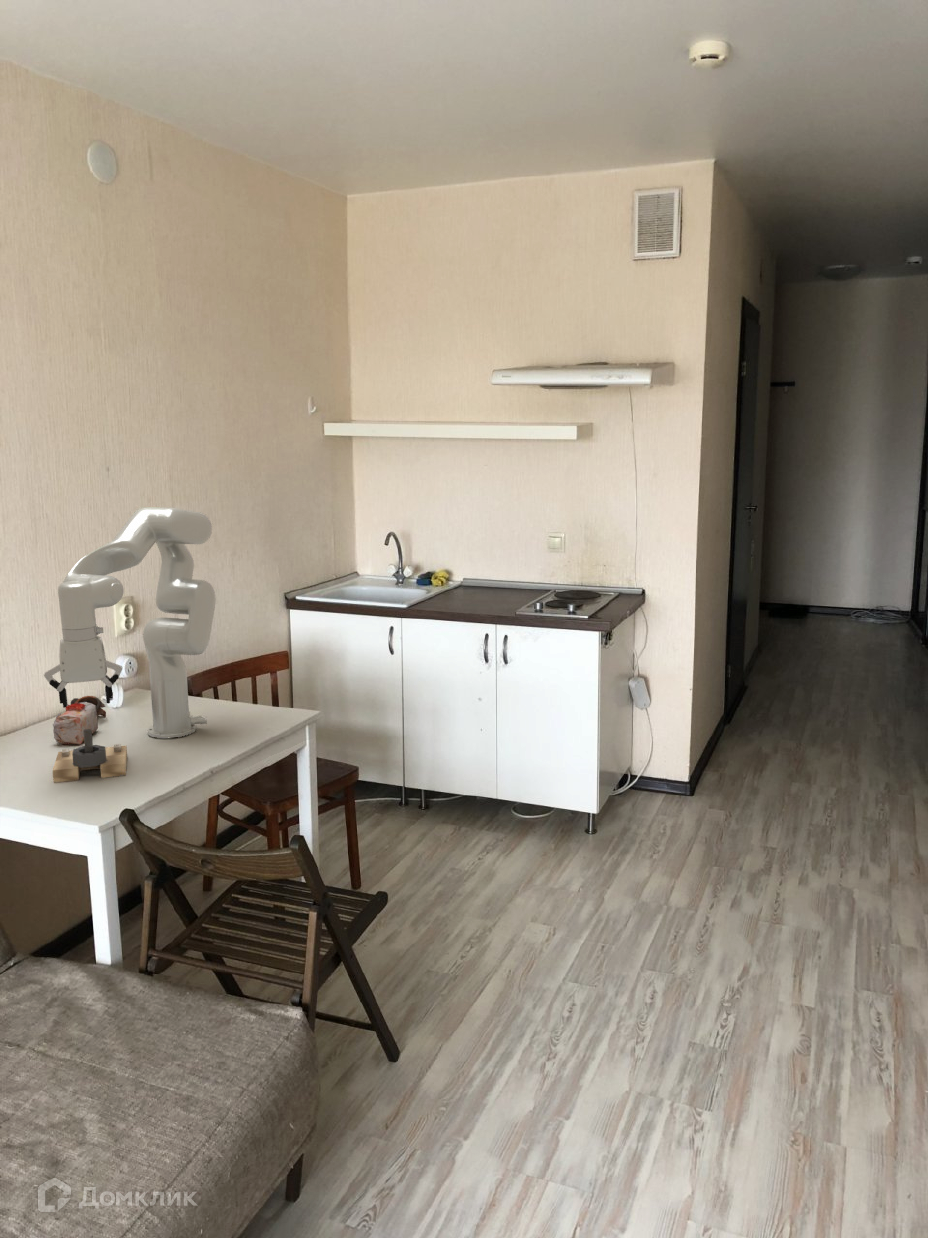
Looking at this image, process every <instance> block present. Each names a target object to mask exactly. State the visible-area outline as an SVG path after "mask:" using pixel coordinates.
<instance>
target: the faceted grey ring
mask: <svg viewBox="0 0 928 1238" xmlns="http://www.w3.org/2000/svg"><path fill="white" fill-rule="evenodd" d="M105 747H106V746H104V745H100V744H99V745H98V744H93V753H85V745H81V746H80V747H77V748H74V749H73V753H72V755H73V766H78V767H93V766H98V765H100V764H103V763H105V762H106V749H105Z"/></svg>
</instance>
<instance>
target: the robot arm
mask: <svg viewBox="0 0 928 1238" xmlns="http://www.w3.org/2000/svg"><path fill="white" fill-rule="evenodd" d="M212 524H213V523H211V520H210V518H209V517H208V516H207V515H206V514H205V513H203V512H199V511H195V510H187V509H183V508H178V507H162V506H161V507H158V506H156V507H154V506H153V507H150V506H149V507H145V506H144V507H141V508H139V509H137V510H136V511H134V513H133V514H131V516H130V518H129V519H128V520H127V521H126V523H125V524H124V525H123V527H121V529H120V530H119V532H118V533H117V534H116V536H115V537H114V538H113V539H112V541H110V542H108V543H105V544H104V545H102V546H100V547H99V548H97V549H94V550H93V551H91V552H89V553H87V554H86V555H84V556H83V557H81V558H80V559H79V560H77V562H76V563H75V564H74V565H73V566H72V567H71V569H70V570H69V571H68V573H67V574H66V575H65V577H64V578H63V579H64V580H63V581H62V583H60V584H59V585H58V588H57V595H58V603H59V604H58V605H59V614H60V623H61V631H62V632H61V633H62V639H61V640H60V642H59V664H58V665H56V666H54V667H52V668H50V669H49V670H46V672H44V674H43V676H44V678H45V680H46V681H47V682H48V683H49V685H50V686H51V687H52V688H54V689H55V690H56V691H57V692H58V697H59V704H62V708H64V709H66V707H67V704H68V696H67V695H68V694H67V688H66V686H67V684H76V683H87V682H88V683H89V682H95V681H97V682H98V681H101V682H102V683H103V684H105V687H104V690H105V703H106V704H110V703H111V700H112V699H114V695H113V685H114V684H115V683H116V682H117V681H118V680H119V678H120V676H121V673H122V671H123V667H124V666H122V665H120V664H117V663H115V662H112V661H110V660H107V658H106V651H105V647H104V644H103V640H102V637H101V636H98V635H99V634H104V627H100V626H98V625H97V620H96V610H97V609H102V608H109V607H112V606H115V605H117V604H118V603H120V601H121V600H122V598H123V595H124V586H123V584H122V582H121V581H120V580H119V579H118V578H117V577H115V576H111V575H109V574H113V573H117V572H121V571H125V570H127V569H131V568H133V567H136V566H138V565H139V564H140V563H141V562H142V561H143V559H145V557H146V555H147V554H148V553H149V551H150V550H151V549H152V547H153V546H154V545H155V544H156V546H157V549H158V550H159V553H160V557H161V558H160V559H161V564H160V565H161V566H160V572H159V576H158V577H159V578H158V582H157V588H156V595H155V605H156V608H157V610H159V611H160V612H163V613H167V614H171V615H172V614H173V615H188V618H178V617H156V618H153V619H151V620H150V621H148V622H146V624H145V625H144V627H143V632H142V637H143V640H142V641H143V643H144V648H145V650H146V656H147V660H148V668H149V681H150V682H149V683H150V696H151V697H150V699H151V714H152V725H151V726H150V727H148V728H147V735H148V736H150V737H151V738H154V737H157V738H156V739H169V738H168V737H178V738H183V737H186V736H189V735H191V733H192V732H193V733H194V732H196V730H197V728H196V726H197V725H199V724H200V725H206V724H208V720H207V718H208V717H207V716H202V715H197V716H196V715H195V716H193V715H191V711H190V710H189V709H190V708H189V693H188V692H189V691H188V690H189V689H188V688H189V687H188V676H187V675H188V673H187V666H186V663H185V661H184V659H183V657H182V655H184V656H199V655H202V654H203V653H204V652H205V651H206V650H207V649H208V646H209V644H210V643H209V642H210V638H211V633H212V627H213V622H214V621H213V620H214V615H215V609H216V598H217V597H216V592H215V589H214V587H213V586H212V584H211V583H210V582H209V581H207V580H203V579H193V576H194V575H193V573H194V567H195V563H194V558H193V555H192V554H191V552H190V550H189V549H188V547H187V546H186V545H203V544H205V543H206V542H207V541H208V540H209V539H210V538H211V535H212V533H213V532H212V531H213V526H212ZM108 668H109V669H110V670H111V669H112V670H114V674H113V675H112V676H111V677H110V676H109V675H107V674H108ZM57 673H60V681H59V680H56V679H55V678H54V677H53V676H54V675H56V674H57ZM193 733H192V734H193ZM188 734H189V735H188ZM185 735H186V736H185ZM182 736H183V737H182Z"/></svg>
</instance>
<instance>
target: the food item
mask: <svg viewBox="0 0 928 1238" xmlns="http://www.w3.org/2000/svg"><path fill="white" fill-rule="evenodd" d="M95 706H96V705H93V704H92V703H87V702H81V703H79V702H76V703H75V704H71V703H70V704H68V703H67V707H66V708H65V710H64V711H63V712H60V713H59V714H57V715H56V716H55V719H54V721H53V723H52V727H53V729H52V730H53V733H52V734H53V739H54V740H55V742H56V743H57V742H58V743H59V744H64V745H71V746H72V745H75V746H76V745H77V746H78V745H82V744H83V743H84V732H83V730H85V729H91V730H92V734H94V733H95V732H96V731H97V730H98V728H99V723H98V722H99V721H98V716H97V713H96V707H95Z"/></svg>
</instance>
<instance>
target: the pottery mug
mask: <svg viewBox="0 0 928 1238" xmlns="http://www.w3.org/2000/svg"><path fill="white" fill-rule="evenodd" d="M76 702H79V703H81V702H87V703H92V704H93V705H96V706H95V707H96V713H97V717H99V716H101V717H104V718H106V717H107V711H106V710H104V709H103V708H106V704H104V702H102V701H101V700H100V699H99V697H98V696H94V695H85V696H81V697H80V698H76V697H75V698H72V699H71V700H70V704H75V703H76Z"/></svg>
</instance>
